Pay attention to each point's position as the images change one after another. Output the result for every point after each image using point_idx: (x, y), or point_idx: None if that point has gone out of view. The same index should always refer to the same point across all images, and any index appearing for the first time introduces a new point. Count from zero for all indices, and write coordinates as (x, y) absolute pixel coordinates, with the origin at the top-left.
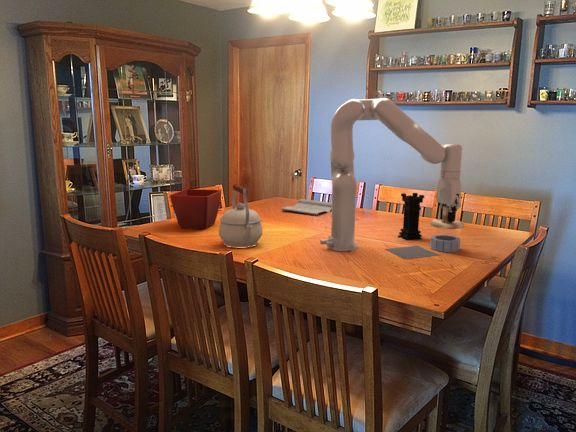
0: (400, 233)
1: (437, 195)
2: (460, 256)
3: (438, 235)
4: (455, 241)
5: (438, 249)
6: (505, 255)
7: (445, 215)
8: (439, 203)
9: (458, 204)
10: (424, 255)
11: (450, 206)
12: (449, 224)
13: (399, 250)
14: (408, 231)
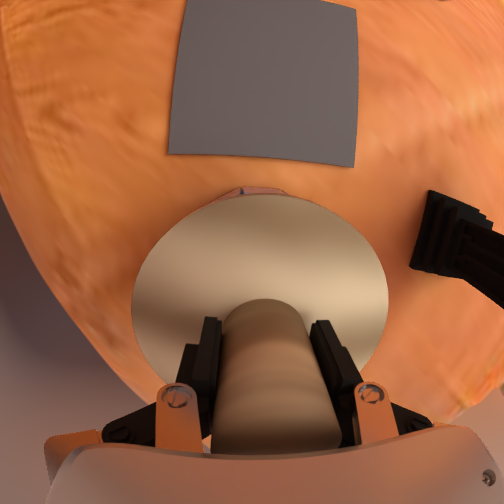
0: (478, 212)
1: (481, 492)
2: (144, 243)
3: None
4: None
5: (229, 193)
6: (125, 379)
7: (249, 345)
8: (417, 429)
9: (45, 457)
10: (195, 81)
11: (168, 444)
12: (192, 303)
13: (315, 38)
14: (461, 218)
